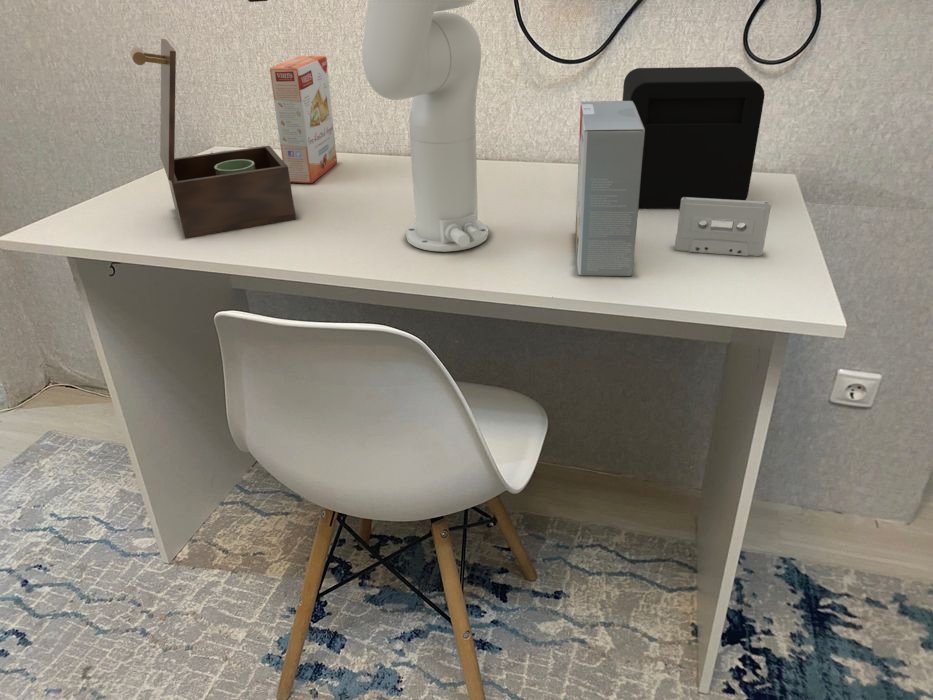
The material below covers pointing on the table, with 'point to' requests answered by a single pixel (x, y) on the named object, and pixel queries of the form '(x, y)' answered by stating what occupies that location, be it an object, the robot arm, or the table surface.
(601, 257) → the hard drive box
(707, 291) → the table surface
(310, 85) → the cracker box
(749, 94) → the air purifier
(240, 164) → the cup
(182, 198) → the chest
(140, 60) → the chest lid
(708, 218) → the cassette
